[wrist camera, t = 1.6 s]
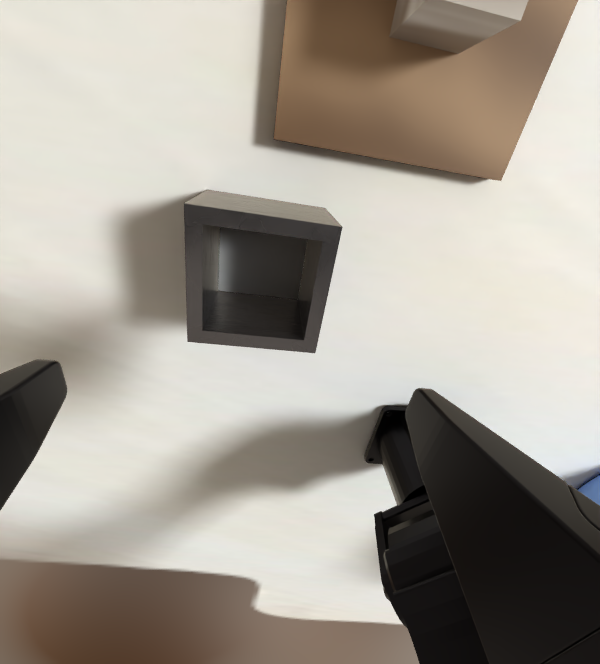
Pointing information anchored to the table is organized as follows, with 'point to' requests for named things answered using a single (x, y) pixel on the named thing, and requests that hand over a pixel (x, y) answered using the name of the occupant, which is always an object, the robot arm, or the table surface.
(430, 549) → the robot arm
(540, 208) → the table surface
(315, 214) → the grey cube shelf
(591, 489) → the water jug
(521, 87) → the post block
